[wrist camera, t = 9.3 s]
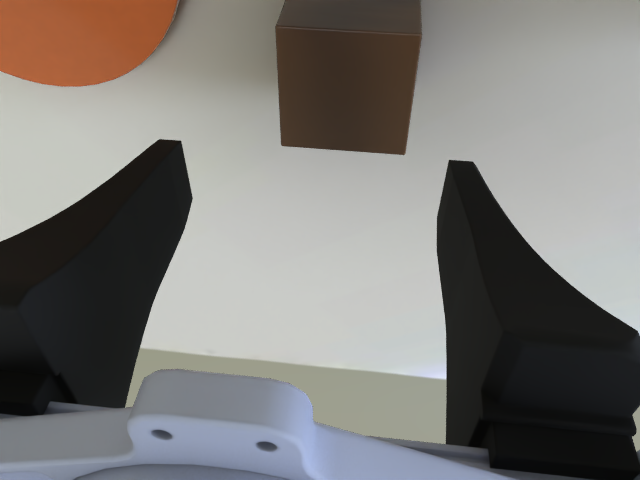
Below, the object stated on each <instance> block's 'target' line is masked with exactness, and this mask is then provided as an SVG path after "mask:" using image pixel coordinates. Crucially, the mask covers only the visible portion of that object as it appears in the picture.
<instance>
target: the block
mask: <svg viewBox="0 0 640 480" xmlns="http://www.w3.org/2000/svg"><path fill="white" fill-rule="evenodd" d="M275 29H276V49H277V70H278V90H279V111H280V131H281V145H282V146H289V147H303V148H316V149H330V150H344V151H357V152H371V153H385V154H399V155H405V153H406V145H407V138H408V131H409V124H410V117H411V110H412V103H413V96H414V88H415V81H416V74H417V67H418V60H419V53H420V46H421V39H422V23H421V0H286V1H285V3H284V6H283V9H282V11H281V14H280V16H279V19H278V22H277V24H276V27H275Z"/></svg>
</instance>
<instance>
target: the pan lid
mask: <svg viewBox="0 0 640 480" xmlns="http://www.w3.org/2000/svg"><path fill="white" fill-rule="evenodd" d="M179 2H180V0H0V71H2V72H4V73H7V74H10V75H13V76H16V77H18V78H21V79H24V80H28V81H33V82H37V83H41V84H47V85H55V86H87V85H95V84H99V83H103V82H107V81H110V80H113V79H116V78H118V77H120V76H122V75H124V74H127V73H128V72H130V71H131V70H133V69H134V68H136V67H137V66H139V65H140V64H142V63H143V62H144V61H145V60H146V59H147V58H148V57H149V56H150V55H151V54H152V53H153V52H154V50H155V49H156V48H157V46H158V45H159V44H160V42H161V41H162V39H163V38H164V37H165V35H166V34H167V32H168V30H169V28H170V26H171V24H172V22H173V20H174V17H175V14H176V11H177V8H178V5H179Z"/></svg>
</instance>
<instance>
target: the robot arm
mask: <svg viewBox="0 0 640 480" xmlns="http://www.w3.org/2000/svg"><path fill="white" fill-rule="evenodd" d="M192 199H193V198H192V193H191V188H190V183H189V178H188V173H187V168H186V163H185V158H184V153H183V148H182V143H181V141H177V140H163V139H159V140H158V141H156V142H155V143H154V144H152V145H151V146H150V147H149V148H147V149H146V150H145V151H144V152H142V153H141V154H140V155H139V156H138V157H136V158H135V159H134V160H133V161H131V162H130V163H129V164H128V165H126V166H125V167H124V168H123V169H121V170H120V171H119V172H118V173H116V174H115V175H114V176H113V177H111V178H110V179H109V180H107V181H106V182H105V183H103V184H102V185H100V186H99V187H98V188H96V189H95V190H93V191H92V192H91V193H89V194H88V195H86V196H85V197H84V198H82V199H81V200H79V201H78V202H76V203H75V204H73V205H71V206H70V207H68V208H67V209H65V210H63V211H61V212H60V213H58V214H56V215H55V216H53V217H51V218H49V219H47V220H46V221H44V222H42V223H40V224H38V225H35V226H33V227H31V228H29V229H27V230H25V231H23V232H21V233H19V234H17V235H15V236H13V237H11V238H8V239H6V240H3V241H1V242H0V480H640V450H639V451H637V452H636V450H635V446H634V443H633V439H632V436H634V435H635V434H636V426H635V422H634V420H633V416H632V415H633V413H634V412H635V411H636V410H637V408H638V407H639V406H640V336H639V333H638V331H637V330H635V329H633V328H632V327H630V326H629V325H627V324H626V323H624V322H622V321H621V320H619V319H618V318H616V317H614V316H613V315H611V314H610V313H608V312H606V311H605V310H603V309H602V308H601V307H599V306H598V305H596V304H595V303H594V302H592V301H591V300H590V299H588V298H587V297H586V296H584V295H583V294H582V293H580V292H579V291H578V290H577V289H575V288H574V287H573V286H572V285H570V284H569V283H568V282H567V281H566V280H565V279H563V278H562V277H561V276H560V275H559V274H558V273H557V272H555V271H554V270H553V269H552V268H551V267H550V266H549V265H548V264H547V263H546V262H545V261H544V260H543V259H542V258H541V257H540V256H539V255H538V254H537V253H536V252H535V251H534V250H533V249H532V247H531V246H530V245H529V244H528V243H527V242H526V240H525V239H524V238H523V237H522V235H521V234H520V233H519V232H518V230H517V229H516V228H515V227H514V225H513V224H512V223H511V221H510V220H509V218H508V217H507V216H506V214H505V213H504V211H503V210H502V208H501V207H500V205H499V204H498V202H497V201H496V199H495V198H494V196H493V195H492V193H491V191H490V190H489V188H488V186H487V185H486V183H485V181H484V179H483V178H482V176H481V174H480V172H479V170H478V169H477V167H476V165H475V164H474V163H473V162H470V161H456V160H449V163H448V168H447V172H446V177H445V182H444V187H443V192H442V197H441V201H440V206H439V211H438V216H437V256H438V264H439V273H440V281H441V289H442V297H443V305H444V313H445V322H446V352H447V408H446V444H437V443H428V442H420V441H411V440H401V439H392V438H382V437H373V436H364V435H361V434H357V433H354V432H350V431H346V430H343V429H339V428H336V427H332V426H329V425H325V424H322V423H318V422H315V421H313V406H312V404H311V402H310V400H309V398H308V396H307V395H306V394H305V393H304V392H303V391H301V390H300V389H298V388H297V387H295V386H293V385H292V384H290V383H287V382H282V381H279V380H274V379H271V378H261V377H252V376H241V375H231V374H223V373H212V372H202V371H193V370H183V369H166V370H158V371H155V372H154V373H152V374H150V375H148V376H147V377H145V378H144V379H143V382H142V384H141V387H140V389H139V392H138V395H137V397H136V400H135V402H134V405H133V407H127V408H125V404H126V400H127V396H128V392H129V387H130V383H131V379H132V375H133V371H134V367H135V363H136V359H137V356H138V352H139V348H140V345H141V341H142V338H143V334H144V331H145V327H146V324H147V321H148V317H149V314H150V311H151V307H152V304H153V302H154V299H155V296H156V294H157V291H158V289H159V287H160V284H161V282H162V280H163V278H164V275H165V273H166V271H167V268H168V266H169V264H170V262H171V259H172V257H173V255H174V253H175V250H176V248H177V246H178V243H179V241H180V239H181V236H182V234H183V231H184V229H185V225H186V222H187V218H188V215H189V211H190V207H191V203H192Z"/></svg>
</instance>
